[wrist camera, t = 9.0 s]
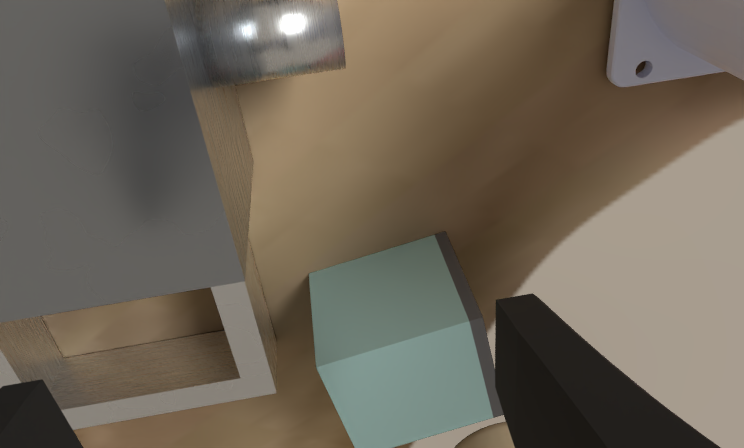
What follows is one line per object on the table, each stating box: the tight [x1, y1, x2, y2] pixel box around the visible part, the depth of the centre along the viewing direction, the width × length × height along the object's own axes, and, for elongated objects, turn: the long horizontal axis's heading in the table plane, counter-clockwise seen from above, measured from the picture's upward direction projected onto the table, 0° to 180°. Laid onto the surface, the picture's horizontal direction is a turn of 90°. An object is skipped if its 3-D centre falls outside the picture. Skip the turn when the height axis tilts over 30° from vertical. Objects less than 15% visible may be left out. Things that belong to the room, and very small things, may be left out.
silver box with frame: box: [0, 0, 346, 430], centre depth 15 cm, size 13×16×8 cm
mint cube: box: [309, 232, 504, 448], centre depth 20 cm, size 4×4×5 cm
